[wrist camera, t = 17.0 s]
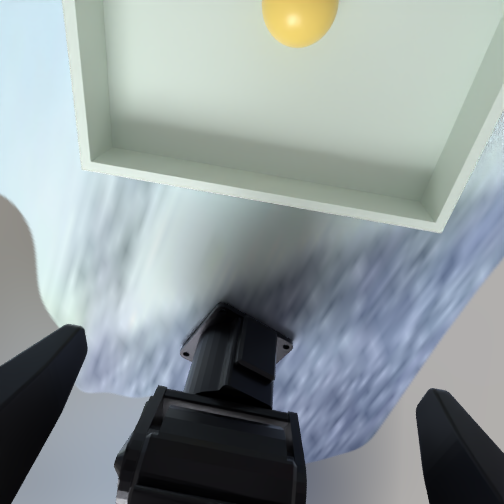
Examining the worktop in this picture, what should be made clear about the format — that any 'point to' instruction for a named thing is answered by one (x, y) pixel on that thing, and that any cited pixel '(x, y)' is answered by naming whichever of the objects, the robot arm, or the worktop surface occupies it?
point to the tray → (291, 102)
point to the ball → (299, 20)
